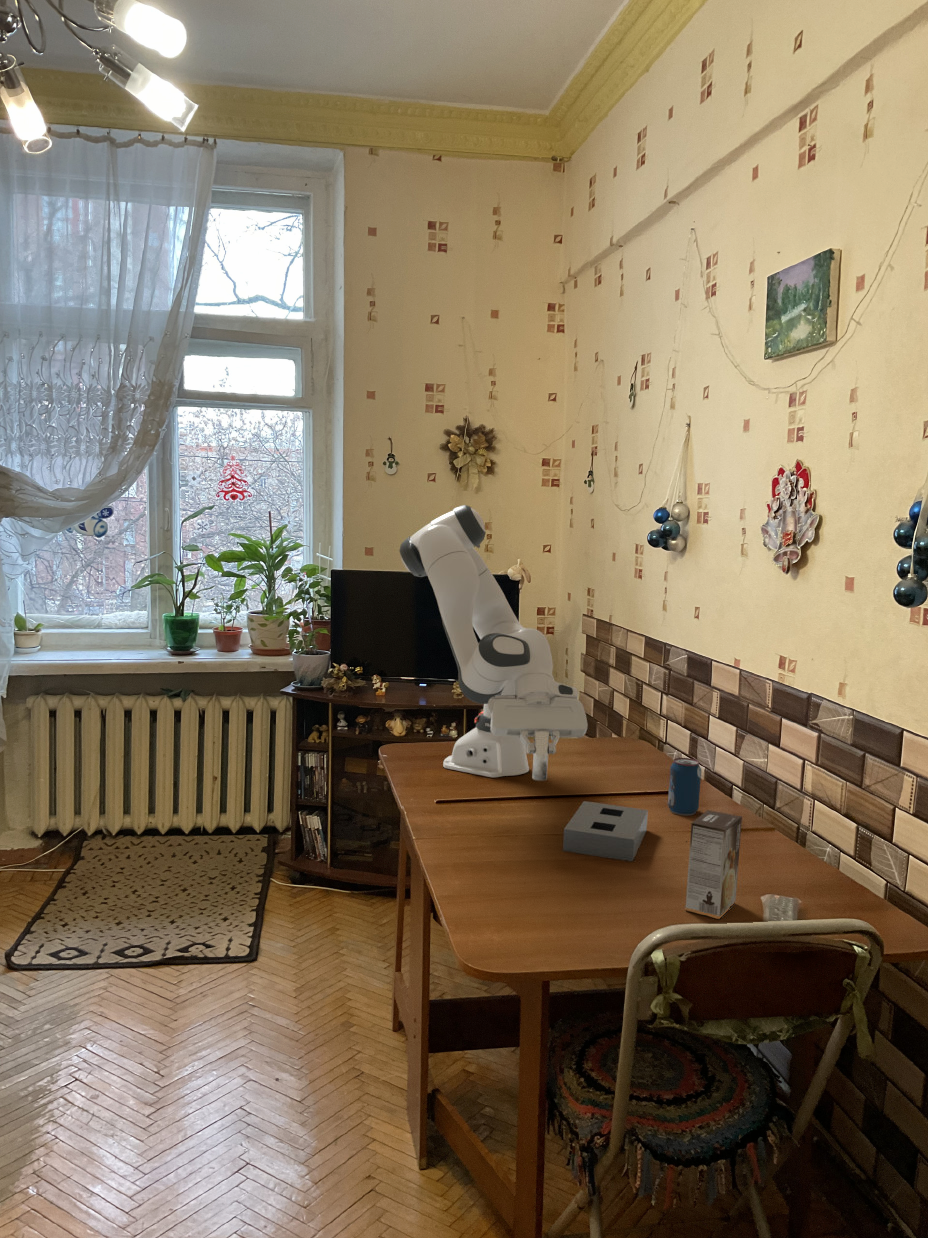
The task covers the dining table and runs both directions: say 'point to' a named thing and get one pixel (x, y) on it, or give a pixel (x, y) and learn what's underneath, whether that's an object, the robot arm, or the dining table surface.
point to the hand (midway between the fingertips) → (541, 752)
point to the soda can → (684, 786)
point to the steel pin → (540, 755)
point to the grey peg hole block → (605, 831)
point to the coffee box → (713, 862)
